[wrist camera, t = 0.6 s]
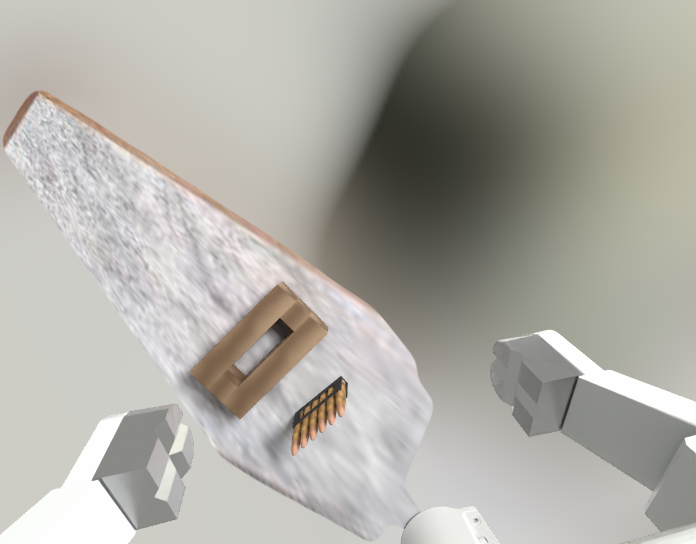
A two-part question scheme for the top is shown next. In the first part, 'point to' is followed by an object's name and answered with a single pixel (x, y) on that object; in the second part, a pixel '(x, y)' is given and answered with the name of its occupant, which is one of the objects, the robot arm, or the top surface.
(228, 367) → the slotted wooden block
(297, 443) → the ammunition clip
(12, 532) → the robot arm
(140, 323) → the top surface
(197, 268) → the top surface
